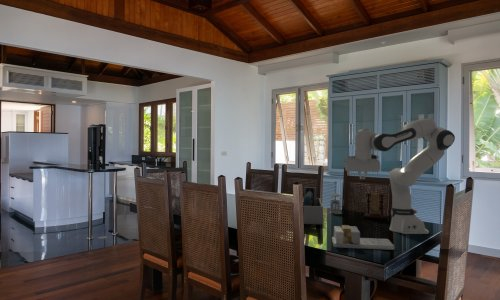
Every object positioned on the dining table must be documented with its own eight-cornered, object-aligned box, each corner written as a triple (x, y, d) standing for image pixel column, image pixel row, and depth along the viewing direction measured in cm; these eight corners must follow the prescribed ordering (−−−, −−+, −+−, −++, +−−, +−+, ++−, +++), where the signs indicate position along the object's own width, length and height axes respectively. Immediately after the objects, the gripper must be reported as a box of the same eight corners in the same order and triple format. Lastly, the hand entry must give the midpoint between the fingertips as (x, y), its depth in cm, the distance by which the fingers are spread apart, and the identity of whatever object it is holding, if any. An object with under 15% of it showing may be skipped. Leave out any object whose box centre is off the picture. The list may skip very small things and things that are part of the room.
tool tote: (320, 213, 282) (320, 198, 282) (322, 224, 242) (322, 206, 242) (302, 212, 284) (302, 197, 284) (301, 223, 244) (301, 206, 244)
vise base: (387, 242, 197) (388, 228, 197) (394, 249, 183) (394, 234, 183) (331, 240, 201) (332, 226, 201) (334, 247, 187) (334, 231, 187)
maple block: (348, 238, 198) (348, 225, 198) (350, 241, 190) (350, 228, 190) (341, 237, 199) (341, 225, 199) (343, 241, 191) (343, 228, 191)
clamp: (313, 224, 245) (313, 193, 244) (300, 223, 247) (300, 192, 246) (315, 214, 279) (315, 187, 278) (304, 214, 281) (304, 187, 281)
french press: (332, 211, 292) (332, 180, 292) (346, 212, 285) (346, 181, 285) (326, 212, 285) (327, 181, 284) (340, 214, 277) (340, 182, 277)
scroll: (363, 219, 259) (363, 191, 259) (365, 215, 273) (365, 189, 273) (385, 221, 253) (385, 193, 253) (386, 217, 267) (386, 190, 267)
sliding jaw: (355, 237, 199) (356, 226, 199) (359, 243, 185) (359, 232, 185) (348, 236, 200) (348, 226, 200) (351, 243, 186) (351, 232, 186)
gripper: (345, 156, 213) (345, 179, 213) (381, 156, 210) (381, 179, 210) (344, 155, 219) (344, 178, 220) (379, 156, 216) (378, 179, 216)
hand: (362, 179), depth 215 cm, fingers closed
